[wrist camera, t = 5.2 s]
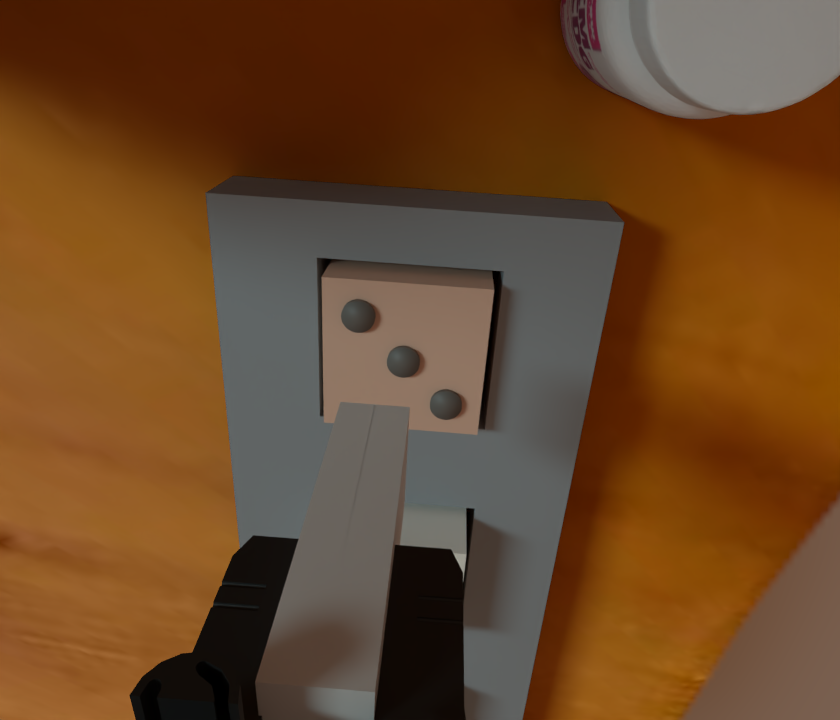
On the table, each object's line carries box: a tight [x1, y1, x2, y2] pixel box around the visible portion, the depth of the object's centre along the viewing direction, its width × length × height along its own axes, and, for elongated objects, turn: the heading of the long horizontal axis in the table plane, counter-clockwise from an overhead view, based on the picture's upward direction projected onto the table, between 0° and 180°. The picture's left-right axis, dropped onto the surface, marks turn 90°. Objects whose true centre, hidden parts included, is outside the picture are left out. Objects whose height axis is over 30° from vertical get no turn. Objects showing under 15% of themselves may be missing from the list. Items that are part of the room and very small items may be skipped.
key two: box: [400, 503, 466, 579], centre depth 24 cm, size 5×5×3 cm
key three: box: [322, 259, 494, 435], centre depth 21 cm, size 5×5×3 cm
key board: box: [206, 176, 624, 720], centre depth 25 cm, size 27×12×2 cm, turn 177°
